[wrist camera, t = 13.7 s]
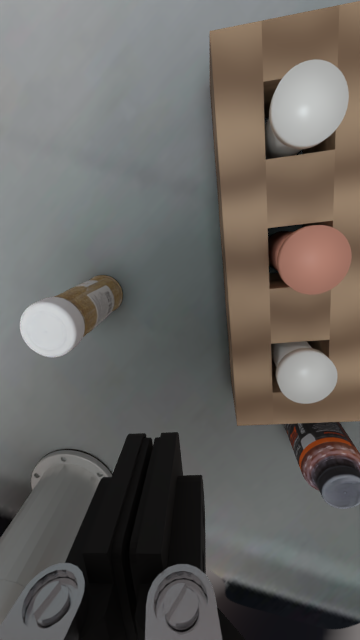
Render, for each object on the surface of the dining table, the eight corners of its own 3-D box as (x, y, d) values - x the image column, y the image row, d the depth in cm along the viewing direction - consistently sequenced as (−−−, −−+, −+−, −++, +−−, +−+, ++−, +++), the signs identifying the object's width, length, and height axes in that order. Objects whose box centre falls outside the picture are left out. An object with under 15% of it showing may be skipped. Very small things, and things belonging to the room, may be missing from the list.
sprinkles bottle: (90, 269, 35) (20, 294, 22) (128, 281, 35) (80, 313, 22) (83, 306, 36) (13, 349, 23) (119, 317, 36) (69, 366, 23)
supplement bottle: (275, 404, 38) (301, 475, 27) (323, 389, 36) (370, 457, 26) (290, 441, 39) (321, 523, 28) (337, 428, 38) (387, 508, 27)
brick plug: (306, 271, 31) (350, 291, 21) (259, 276, 31) (280, 297, 22) (306, 223, 29) (353, 221, 20) (257, 228, 30) (279, 229, 20)
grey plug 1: (302, 168, 29) (347, 139, 20) (252, 175, 30) (272, 150, 20) (302, 112, 28) (350, 52, 18) (250, 120, 29) (270, 67, 19)
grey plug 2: (302, 355, 35) (336, 402, 26) (260, 357, 36) (278, 404, 26) (302, 315, 34) (338, 350, 24) (258, 319, 34) (277, 354, 25)
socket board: (332, 379, 36) (365, 420, 28) (231, 385, 37) (237, 425, 30) (343, 60, 27) (396, -7, 19) (209, 84, 28) (209, 31, 21)
